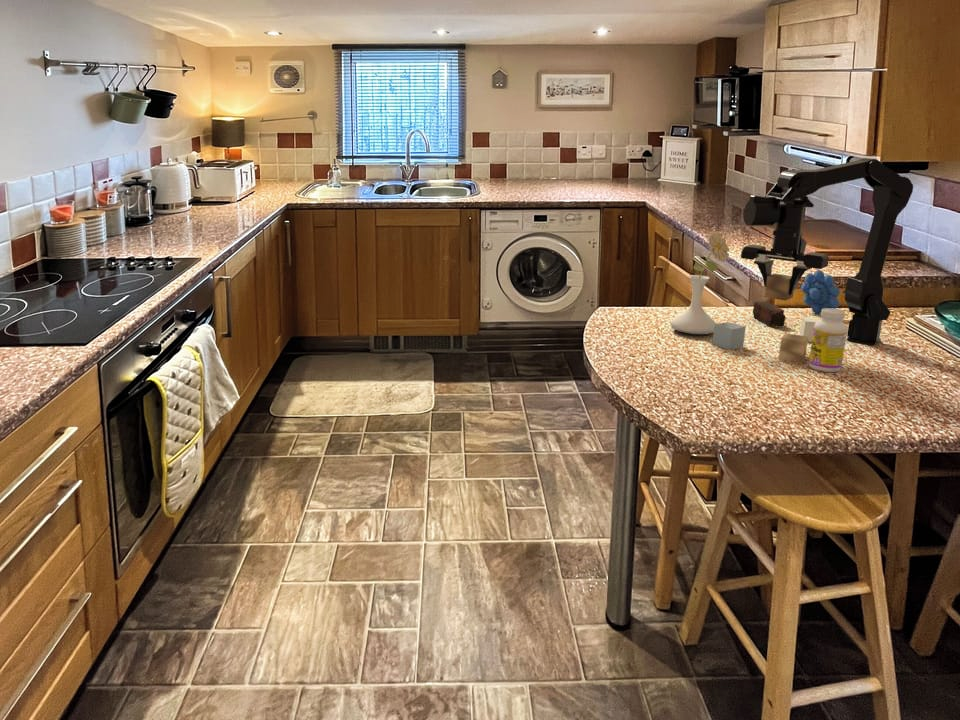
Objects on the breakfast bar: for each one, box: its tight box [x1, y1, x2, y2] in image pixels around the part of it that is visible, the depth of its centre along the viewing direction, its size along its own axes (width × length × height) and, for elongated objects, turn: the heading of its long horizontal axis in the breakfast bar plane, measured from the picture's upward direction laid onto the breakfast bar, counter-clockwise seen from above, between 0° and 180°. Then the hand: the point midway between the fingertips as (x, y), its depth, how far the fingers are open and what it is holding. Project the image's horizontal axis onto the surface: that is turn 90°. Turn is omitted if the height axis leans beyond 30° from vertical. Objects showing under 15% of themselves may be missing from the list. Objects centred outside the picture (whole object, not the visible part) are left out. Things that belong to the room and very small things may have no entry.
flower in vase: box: [669, 229, 730, 335], centre depth 213 cm, size 13×11×25 cm
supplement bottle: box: [808, 308, 848, 373], centre depth 188 cm, size 7×7×13 cm
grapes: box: [800, 269, 841, 315], centre depth 239 cm, size 12×7×12 cm, turn 38°
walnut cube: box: [764, 273, 794, 302], centre depth 206 cm, size 5×5×5 cm
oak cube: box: [778, 332, 809, 364], centre depth 196 cm, size 5×5×5 cm
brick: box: [752, 301, 786, 328], centre depth 229 cm, size 11×4×5 cm, turn 9°
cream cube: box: [799, 316, 822, 343], centre depth 213 cm, size 5×5×5 cm
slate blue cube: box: [711, 321, 747, 351], centre depth 205 cm, size 5×5×5 cm
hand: (779, 292), depth 207 cm, fingers closed on walnut cube, 5 cm apart
